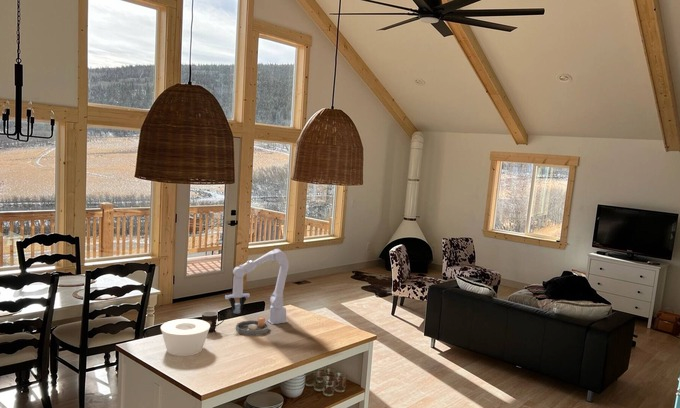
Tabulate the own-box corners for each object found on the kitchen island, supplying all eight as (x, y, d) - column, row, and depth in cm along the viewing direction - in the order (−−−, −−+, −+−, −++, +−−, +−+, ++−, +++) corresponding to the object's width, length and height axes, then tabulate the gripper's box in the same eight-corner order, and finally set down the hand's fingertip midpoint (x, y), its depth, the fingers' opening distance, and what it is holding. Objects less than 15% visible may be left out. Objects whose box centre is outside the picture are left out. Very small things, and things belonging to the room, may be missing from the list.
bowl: (218, 351, 261) (218, 328, 259) (172, 362, 244) (173, 338, 243) (195, 337, 278) (196, 315, 277) (151, 346, 262) (152, 323, 260)
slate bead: (238, 311, 305) (239, 302, 305) (241, 313, 302) (241, 304, 301) (232, 311, 303) (232, 303, 303) (234, 313, 300) (235, 305, 299)
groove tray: (260, 323, 307) (261, 319, 307) (273, 333, 292) (273, 328, 292) (231, 326, 298) (232, 322, 298) (243, 337, 283) (243, 332, 282)
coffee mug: (198, 332, 286) (198, 314, 285) (206, 327, 294) (207, 310, 293) (216, 335, 283) (217, 317, 282) (224, 330, 291) (225, 313, 290)
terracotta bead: (262, 325, 300) (263, 317, 300) (265, 327, 297) (266, 319, 297) (256, 326, 298) (256, 318, 298) (259, 328, 295) (259, 320, 294)
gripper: (247, 284, 308) (246, 306, 309) (223, 286, 301) (222, 309, 302) (251, 287, 302) (250, 310, 304) (227, 289, 295) (226, 312, 296)
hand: (236, 310), depth 302 cm, fingers closed on slate bead, 4 cm apart
